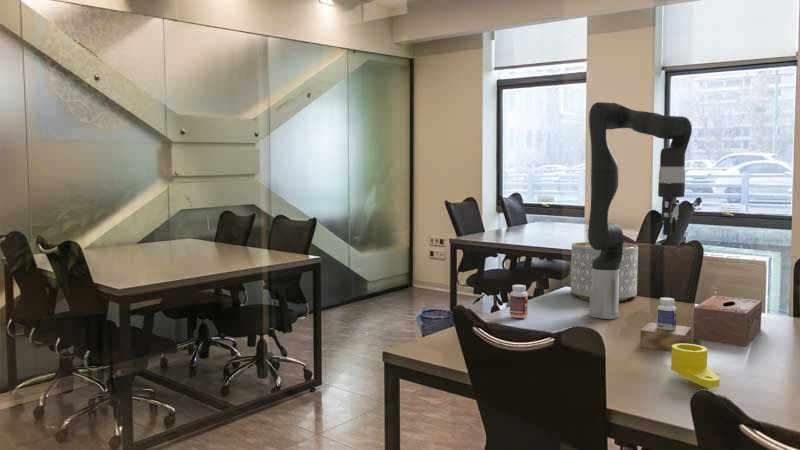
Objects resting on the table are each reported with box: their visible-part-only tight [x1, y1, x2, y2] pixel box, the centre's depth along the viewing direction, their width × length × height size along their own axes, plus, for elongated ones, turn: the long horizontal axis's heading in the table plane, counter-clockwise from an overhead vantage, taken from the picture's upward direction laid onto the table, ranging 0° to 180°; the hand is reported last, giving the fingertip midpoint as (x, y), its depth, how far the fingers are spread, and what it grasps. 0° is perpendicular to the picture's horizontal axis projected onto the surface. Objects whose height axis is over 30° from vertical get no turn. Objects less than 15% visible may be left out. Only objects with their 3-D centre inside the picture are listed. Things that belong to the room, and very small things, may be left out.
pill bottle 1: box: [509, 284, 529, 319], centre depth 234 cm, size 6×6×11 cm
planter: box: [570, 241, 639, 302], centre depth 265 cm, size 26×26×22 cm
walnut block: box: [639, 322, 692, 352], centre depth 194 cm, size 12×12×5 cm
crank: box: [670, 343, 720, 388], centre depth 165 cm, size 18×8×6 cm, turn 179°
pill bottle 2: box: [656, 297, 678, 330], centre depth 193 cm, size 5×5×9 cm
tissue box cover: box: [692, 295, 763, 347], centre depth 207 cm, size 26×14×10 cm, turn 142°
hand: (669, 234), depth 203 cm, fingers open, 8 cm apart
